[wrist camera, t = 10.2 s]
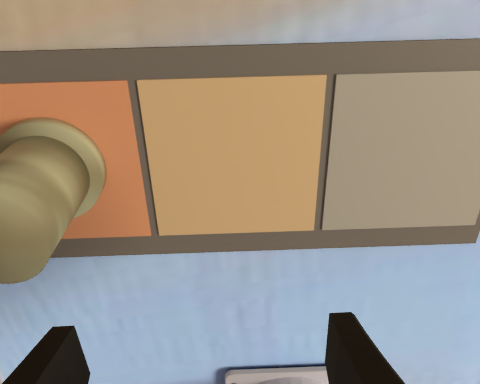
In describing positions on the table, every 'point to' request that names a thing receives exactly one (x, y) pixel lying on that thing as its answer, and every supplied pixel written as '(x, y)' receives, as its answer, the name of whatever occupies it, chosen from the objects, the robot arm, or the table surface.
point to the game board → (265, 143)
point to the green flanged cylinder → (43, 190)
